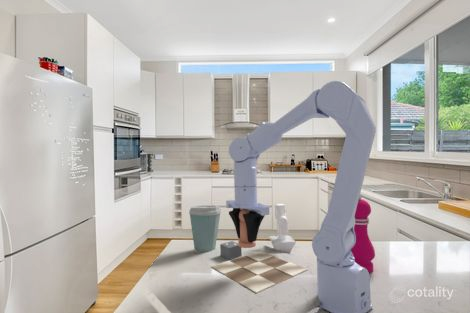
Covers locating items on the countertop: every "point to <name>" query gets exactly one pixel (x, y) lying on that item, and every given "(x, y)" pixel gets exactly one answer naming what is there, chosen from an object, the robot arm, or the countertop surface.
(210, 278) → the countertop surface
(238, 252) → the die
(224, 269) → the board
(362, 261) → the pepper mill
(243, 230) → the pawn
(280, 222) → the figurine
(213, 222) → the disposable coffee cup
